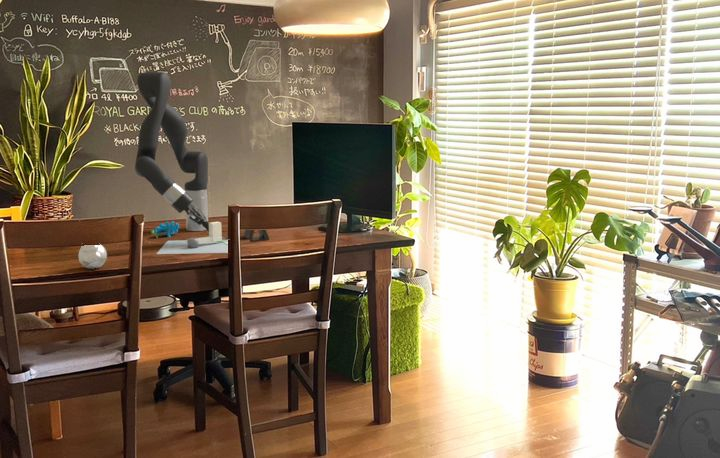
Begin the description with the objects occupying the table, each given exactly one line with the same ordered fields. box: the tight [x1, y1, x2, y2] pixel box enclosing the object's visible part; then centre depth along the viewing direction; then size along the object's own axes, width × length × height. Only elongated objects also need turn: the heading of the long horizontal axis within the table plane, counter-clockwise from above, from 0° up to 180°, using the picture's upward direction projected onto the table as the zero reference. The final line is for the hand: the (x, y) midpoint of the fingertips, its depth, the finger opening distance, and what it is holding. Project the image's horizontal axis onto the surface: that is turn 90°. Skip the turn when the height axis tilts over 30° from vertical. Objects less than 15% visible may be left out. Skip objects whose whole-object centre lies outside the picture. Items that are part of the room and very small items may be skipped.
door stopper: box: [243, 229, 270, 242], centre depth 283 cm, size 9×6×12 cm, turn 117°
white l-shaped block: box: [186, 221, 226, 248], centre depth 267 cm, size 16×4×8 cm, turn 136°
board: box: [156, 239, 229, 255], centre depth 266 cm, size 25×26×2 cm
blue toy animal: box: [151, 220, 180, 239], centre depth 284 cm, size 11×6×10 cm
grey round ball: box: [78, 243, 108, 270], centre depth 235 cm, size 9×10×10 cm
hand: (211, 229), depth 271 cm, fingers closed
